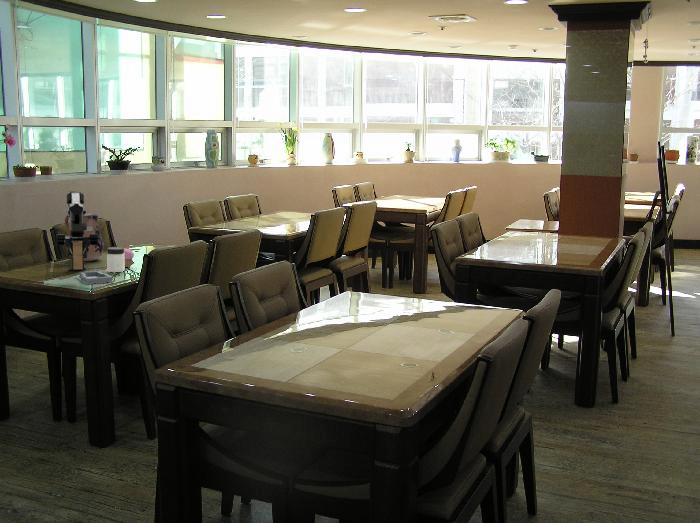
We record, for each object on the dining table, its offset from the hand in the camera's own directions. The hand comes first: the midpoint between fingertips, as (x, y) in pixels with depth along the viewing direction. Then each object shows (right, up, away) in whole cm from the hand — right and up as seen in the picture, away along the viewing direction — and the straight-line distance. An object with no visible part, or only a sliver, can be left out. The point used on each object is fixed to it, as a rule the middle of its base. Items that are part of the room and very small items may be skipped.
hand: (77, 254), depth 366 cm
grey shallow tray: (+5, -12, +9) cm, 16 cm away
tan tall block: (-1, -7, +2) cm, 7 cm away
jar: (+8, -9, +32) cm, 35 cm away
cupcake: (+9, -7, +44) cm, 46 cm away
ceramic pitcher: (-19, -3, +63) cm, 66 cm away
